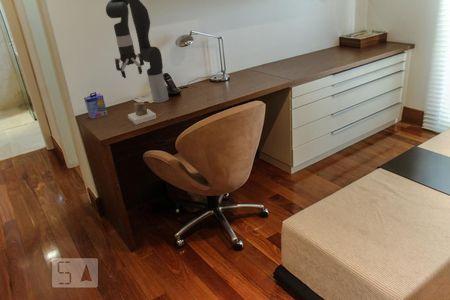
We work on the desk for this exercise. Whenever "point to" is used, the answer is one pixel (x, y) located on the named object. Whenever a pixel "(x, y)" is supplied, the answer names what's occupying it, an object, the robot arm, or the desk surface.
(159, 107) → the desk surface
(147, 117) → the riser
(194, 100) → the desk surface
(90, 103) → the ink cartridge box
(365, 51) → the desk surface
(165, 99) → the robot arm
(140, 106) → the block
